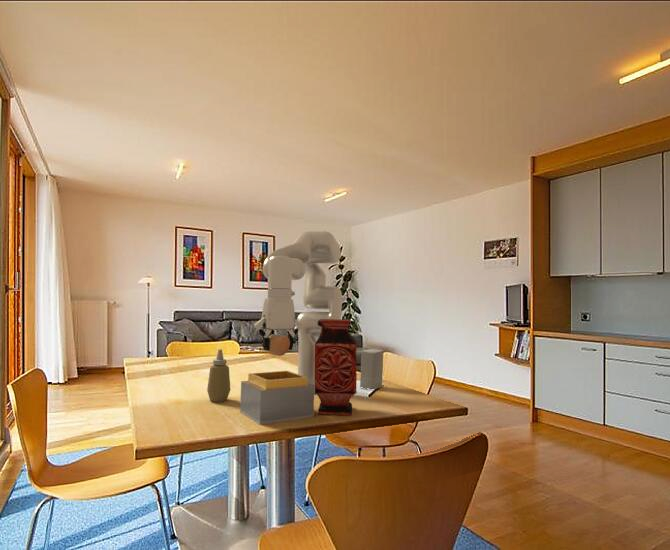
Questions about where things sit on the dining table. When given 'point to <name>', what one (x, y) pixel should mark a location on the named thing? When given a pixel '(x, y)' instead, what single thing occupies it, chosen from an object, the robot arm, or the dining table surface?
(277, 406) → the box
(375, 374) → the skincare box
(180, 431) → the dining table surface
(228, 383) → the squeeze bottle
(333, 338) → the vase
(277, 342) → the fruit
